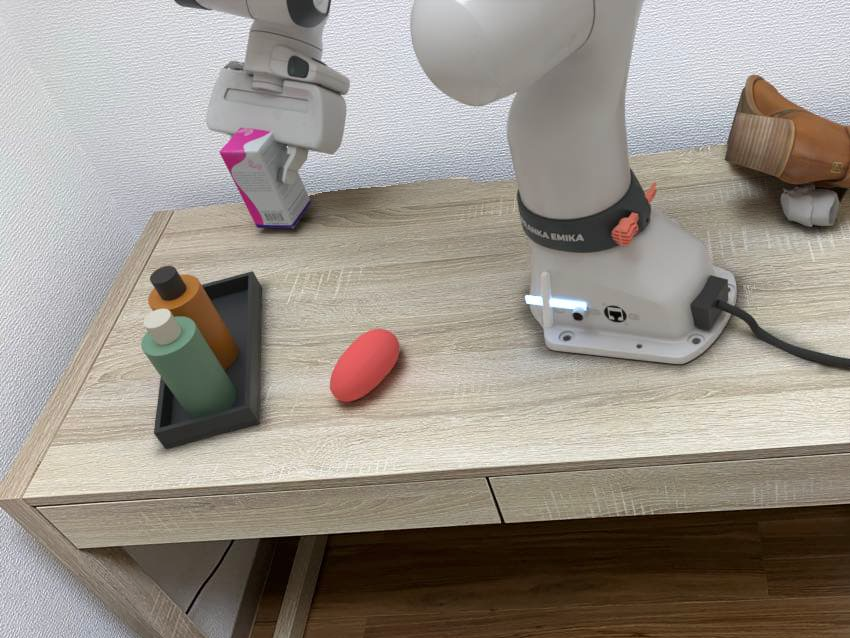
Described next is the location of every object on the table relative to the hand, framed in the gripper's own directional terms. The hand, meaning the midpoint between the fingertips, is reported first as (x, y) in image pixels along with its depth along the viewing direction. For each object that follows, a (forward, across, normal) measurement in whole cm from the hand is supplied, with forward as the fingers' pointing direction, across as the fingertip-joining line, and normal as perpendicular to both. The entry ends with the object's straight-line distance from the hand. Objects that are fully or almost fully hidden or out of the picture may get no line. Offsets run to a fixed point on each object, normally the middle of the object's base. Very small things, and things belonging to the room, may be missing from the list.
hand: (263, 179), depth 115 cm
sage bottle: (+25, +14, -16) cm, 33 cm away
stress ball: (+20, +30, -9) cm, 37 cm away
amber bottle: (+21, +10, -12) cm, 26 cm away
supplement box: (+4, 0, +5) cm, 6 cm away
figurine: (-12, +64, +20) cm, 68 cm away
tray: (+21, +10, -12) cm, 26 cm away
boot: (-18, +52, +19) cm, 58 cm away
